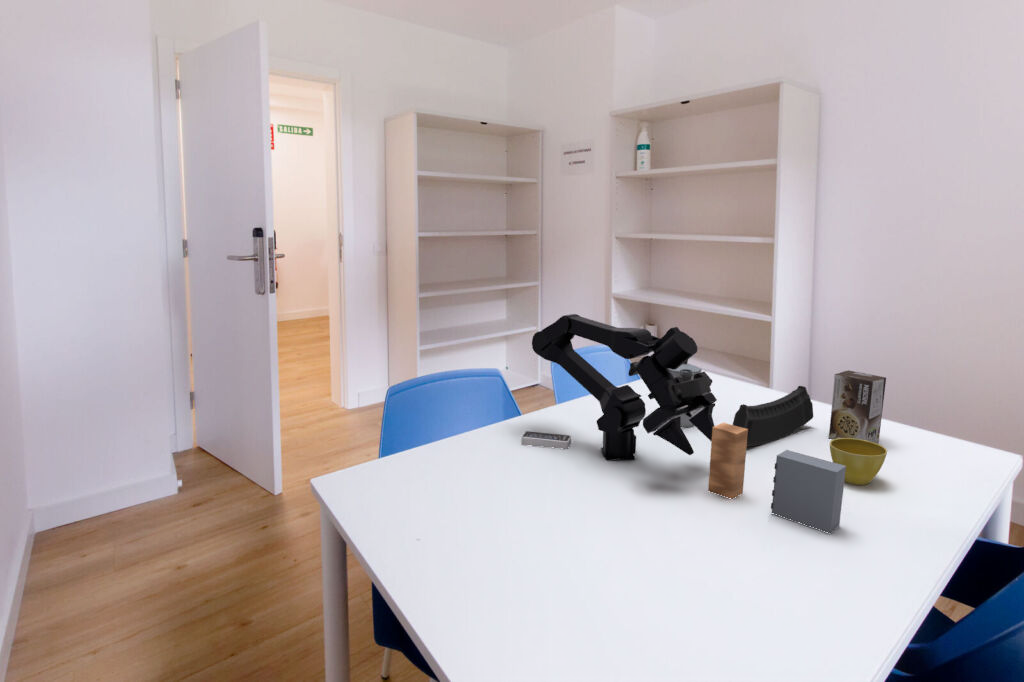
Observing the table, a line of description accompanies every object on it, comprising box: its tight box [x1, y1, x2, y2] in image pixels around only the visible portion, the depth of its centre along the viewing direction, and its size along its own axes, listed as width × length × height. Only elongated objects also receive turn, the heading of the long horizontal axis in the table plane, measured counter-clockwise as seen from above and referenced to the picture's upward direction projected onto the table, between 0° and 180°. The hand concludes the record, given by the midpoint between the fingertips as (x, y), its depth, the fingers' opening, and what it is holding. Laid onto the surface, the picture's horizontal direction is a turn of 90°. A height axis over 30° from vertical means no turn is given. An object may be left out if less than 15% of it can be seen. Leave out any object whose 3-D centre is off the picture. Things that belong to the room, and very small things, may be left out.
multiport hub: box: [521, 430, 572, 450], centre depth 145 cm, size 4×11×2 cm, turn 74°
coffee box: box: [828, 370, 887, 445], centre depth 147 cm, size 9×6×16 cm
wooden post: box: [707, 422, 748, 500], centre depth 119 cm, size 5×4×13 cm
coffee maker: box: [669, 359, 703, 429], centre depth 159 cm, size 15×9×18 cm, turn 172°
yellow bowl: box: [829, 438, 888, 486], centre depth 126 cm, size 10×10×7 cm
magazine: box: [732, 385, 814, 447], centre depth 149 cm, size 17×3×30 cm
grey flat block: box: [770, 449, 846, 534], centre depth 108 cm, size 10×4×11 cm, turn 43°
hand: (704, 448), depth 122 cm, fingers open, 9 cm apart
